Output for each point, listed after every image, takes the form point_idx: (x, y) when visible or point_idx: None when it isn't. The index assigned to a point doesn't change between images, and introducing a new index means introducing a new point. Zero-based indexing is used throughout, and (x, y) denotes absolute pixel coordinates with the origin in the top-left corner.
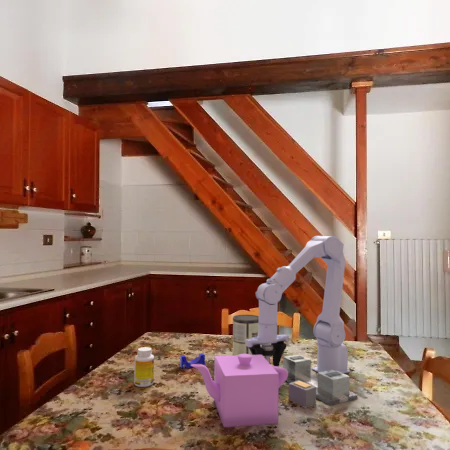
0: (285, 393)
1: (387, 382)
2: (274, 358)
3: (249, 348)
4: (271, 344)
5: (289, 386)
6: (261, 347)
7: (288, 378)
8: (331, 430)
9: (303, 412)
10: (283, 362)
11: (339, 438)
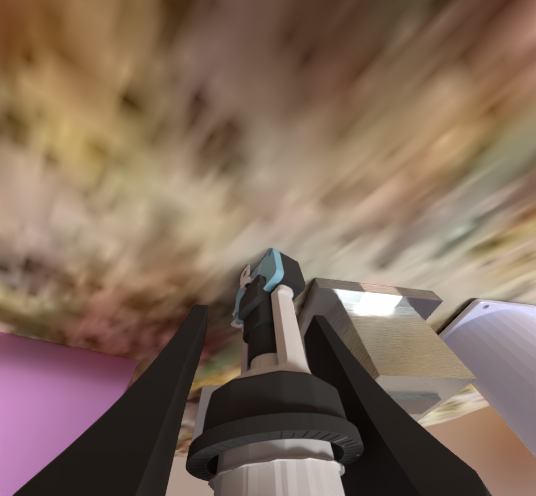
0: (222, 367)
1: (453, 401)
2: (324, 360)
3: (38, 478)
4: (400, 470)
5: (194, 431)
6: (222, 482)
7: (301, 340)
8: (189, 443)
9: (190, 416)
10: (360, 344)
11: (183, 451)
